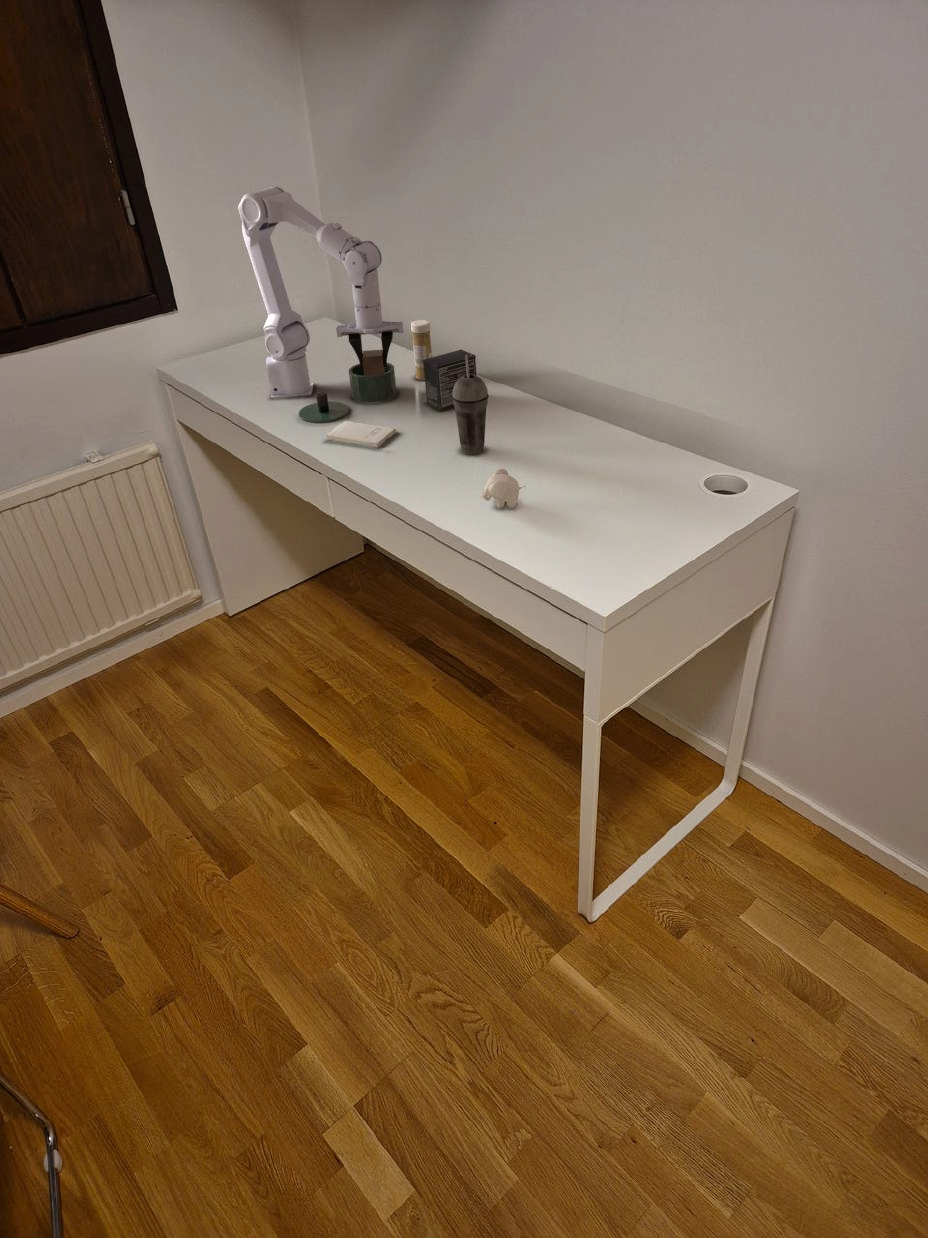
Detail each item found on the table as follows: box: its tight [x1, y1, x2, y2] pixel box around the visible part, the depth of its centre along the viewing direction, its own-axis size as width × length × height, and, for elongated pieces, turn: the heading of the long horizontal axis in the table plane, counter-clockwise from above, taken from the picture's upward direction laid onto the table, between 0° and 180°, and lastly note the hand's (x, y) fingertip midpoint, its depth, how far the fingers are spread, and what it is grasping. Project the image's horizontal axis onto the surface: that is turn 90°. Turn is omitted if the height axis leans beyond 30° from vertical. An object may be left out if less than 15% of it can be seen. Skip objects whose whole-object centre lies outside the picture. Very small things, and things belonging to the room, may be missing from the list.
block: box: [362, 349, 385, 377], centre depth 192 cm, size 4×4×4 cm
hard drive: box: [325, 420, 397, 450], centre depth 183 cm, size 2×8×12 cm
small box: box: [423, 349, 477, 412], centre depth 194 cm, size 11×6×10 cm, turn 123°
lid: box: [298, 391, 350, 424], centre depth 193 cm, size 11×11×5 cm
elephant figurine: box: [481, 468, 526, 509], centre depth 154 cm, size 7×8×6 cm
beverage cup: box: [452, 355, 490, 456], centre depth 170 cm, size 7×7×20 cm
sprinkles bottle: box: [410, 319, 433, 381], centre depth 207 cm, size 5×5×14 cm
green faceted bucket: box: [348, 362, 397, 403], centre depth 201 cm, size 10×10×6 cm
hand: (373, 366), depth 193 cm, fingers closed on block, 4 cm apart
